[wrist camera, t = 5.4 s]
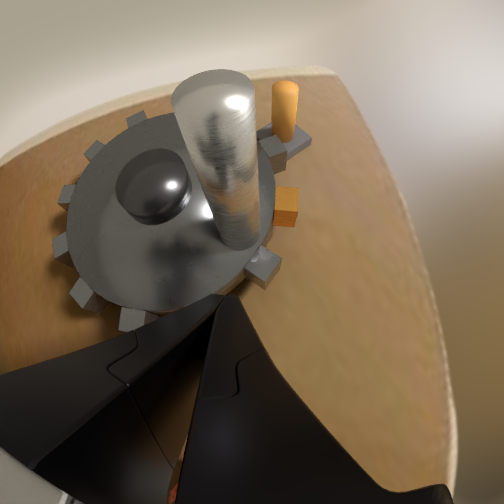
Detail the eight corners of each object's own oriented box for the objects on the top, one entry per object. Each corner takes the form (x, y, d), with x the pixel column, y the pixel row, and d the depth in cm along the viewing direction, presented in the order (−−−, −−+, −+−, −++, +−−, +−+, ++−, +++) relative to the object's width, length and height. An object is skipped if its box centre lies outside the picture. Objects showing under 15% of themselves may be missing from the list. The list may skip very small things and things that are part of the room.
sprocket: (285, 352, 14) (337, 370, 4) (49, 311, 15) (-79, 266, 5) (296, 122, 19) (309, -13, 9) (108, 126, 20) (53, 30, 10)
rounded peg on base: (280, 164, 19) (284, 110, 14) (253, 140, 20) (249, 86, 15) (310, 144, 20) (320, 91, 15) (283, 122, 21) (286, 69, 16)
